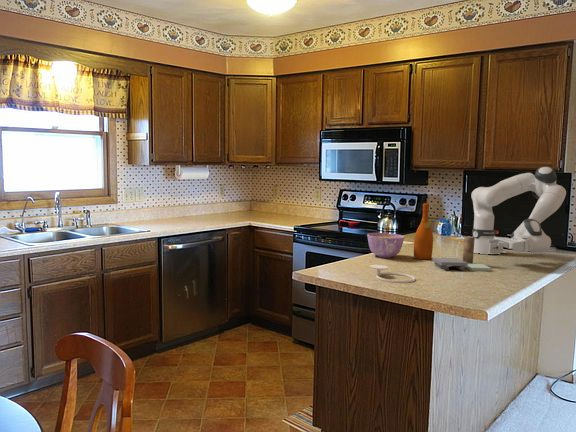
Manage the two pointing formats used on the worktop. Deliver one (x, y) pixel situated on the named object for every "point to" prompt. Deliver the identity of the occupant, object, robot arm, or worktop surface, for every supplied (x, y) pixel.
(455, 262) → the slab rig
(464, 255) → the walnut roller
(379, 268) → the hand towel holder
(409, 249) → the worktop surface
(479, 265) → the board
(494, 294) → the worktop surface
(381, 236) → the bowl of food
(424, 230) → the wine bottle
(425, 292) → the worktop surface
